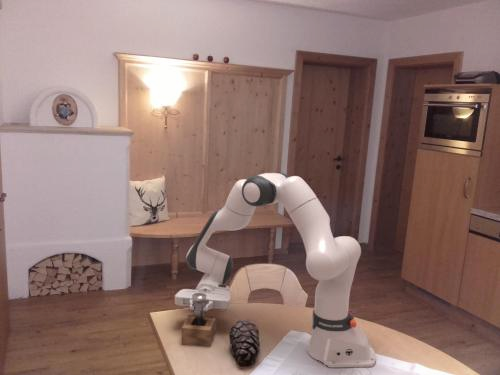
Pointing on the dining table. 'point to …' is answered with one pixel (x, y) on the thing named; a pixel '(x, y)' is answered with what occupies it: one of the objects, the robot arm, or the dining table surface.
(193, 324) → the socket block
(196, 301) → the pin
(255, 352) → the pine cone
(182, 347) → the dining table surface
